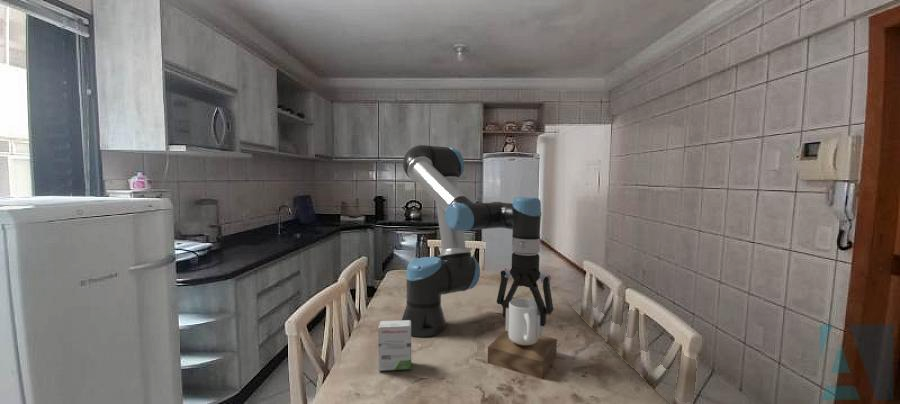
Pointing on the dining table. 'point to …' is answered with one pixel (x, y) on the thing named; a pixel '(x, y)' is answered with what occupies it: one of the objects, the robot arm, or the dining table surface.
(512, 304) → the mug
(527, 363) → the walnut block
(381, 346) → the ink box
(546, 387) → the dining table surface
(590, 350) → the dining table surface
